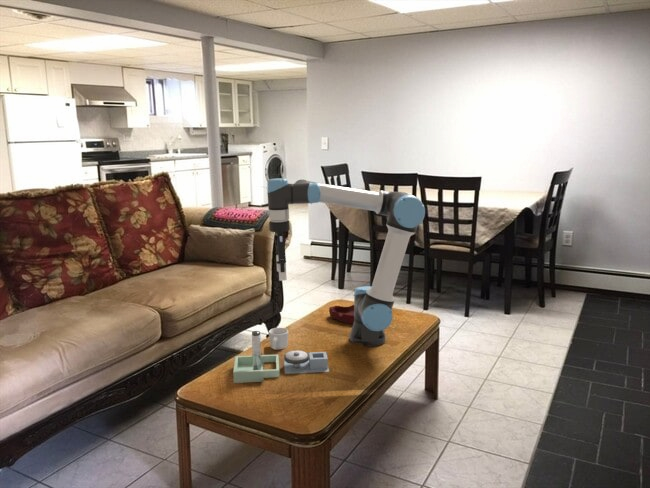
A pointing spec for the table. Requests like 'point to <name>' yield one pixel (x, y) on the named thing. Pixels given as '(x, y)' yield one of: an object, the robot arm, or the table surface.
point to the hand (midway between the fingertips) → (281, 275)
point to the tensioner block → (305, 362)
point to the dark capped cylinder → (256, 350)
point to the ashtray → (343, 313)
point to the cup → (278, 338)
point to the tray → (247, 374)
